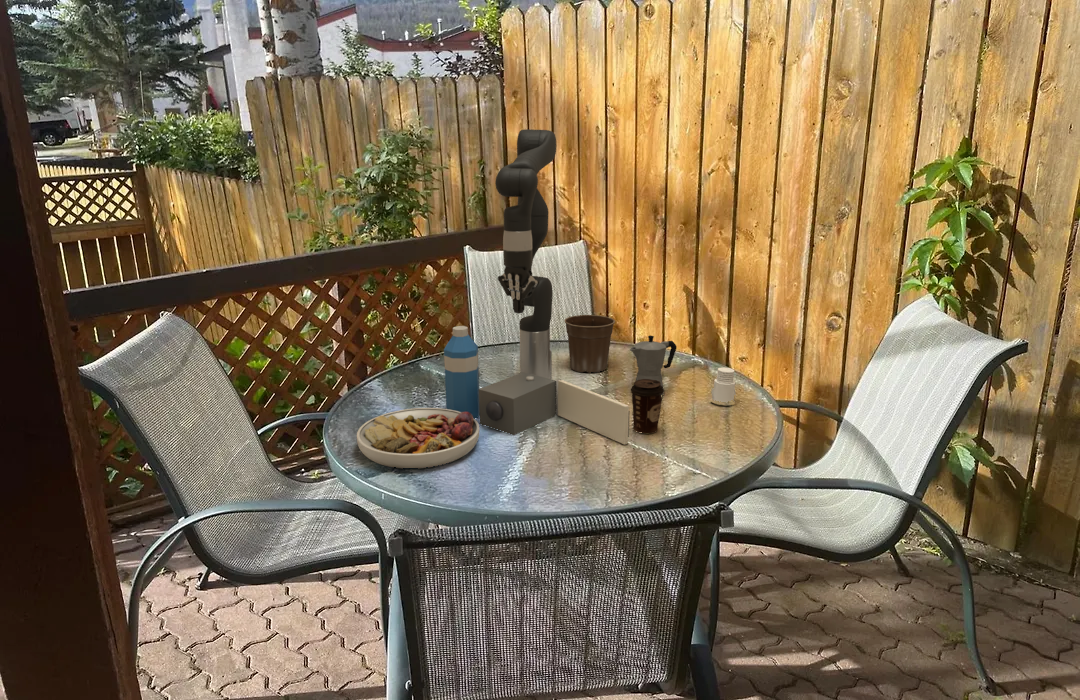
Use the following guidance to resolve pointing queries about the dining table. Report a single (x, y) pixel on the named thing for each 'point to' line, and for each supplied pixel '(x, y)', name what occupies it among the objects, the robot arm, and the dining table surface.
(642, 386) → the coffee cup
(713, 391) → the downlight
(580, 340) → the plant pot
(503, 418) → the grey button box
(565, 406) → the case door
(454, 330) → the water bottle
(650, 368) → the coffeepot
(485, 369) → the dining table surface
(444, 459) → the bowl
